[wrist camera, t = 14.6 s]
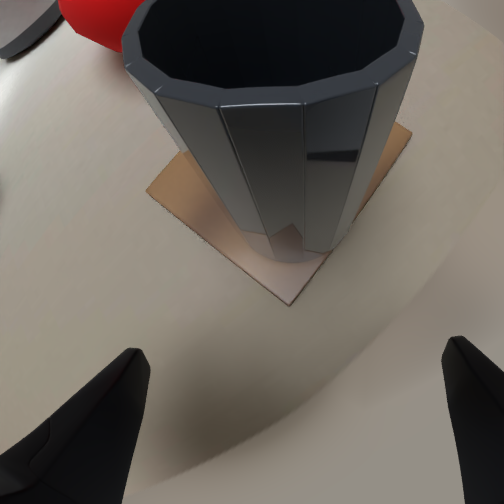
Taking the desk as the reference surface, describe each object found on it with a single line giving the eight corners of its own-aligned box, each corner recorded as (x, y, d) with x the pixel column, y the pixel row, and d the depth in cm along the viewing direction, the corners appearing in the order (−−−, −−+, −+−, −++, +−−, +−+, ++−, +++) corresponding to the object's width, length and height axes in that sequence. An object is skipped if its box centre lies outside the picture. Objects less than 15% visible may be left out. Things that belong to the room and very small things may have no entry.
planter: (67, -5, 32) (39, -45, 21) (77, 16, 28) (41, -36, 18) (6, 45, 32) (-27, 10, 21) (4, 77, 28) (-40, 36, 18)
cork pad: (410, 136, 18) (412, 132, 17) (289, 306, 17) (289, 306, 16) (274, 62, 21) (273, 57, 20) (148, 193, 19) (144, 190, 19)
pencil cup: (355, 265, 16) (463, 120, 4) (226, 261, 17) (81, 129, 5) (350, 150, 18) (383, -46, 6) (236, 150, 19) (162, -35, 7)
